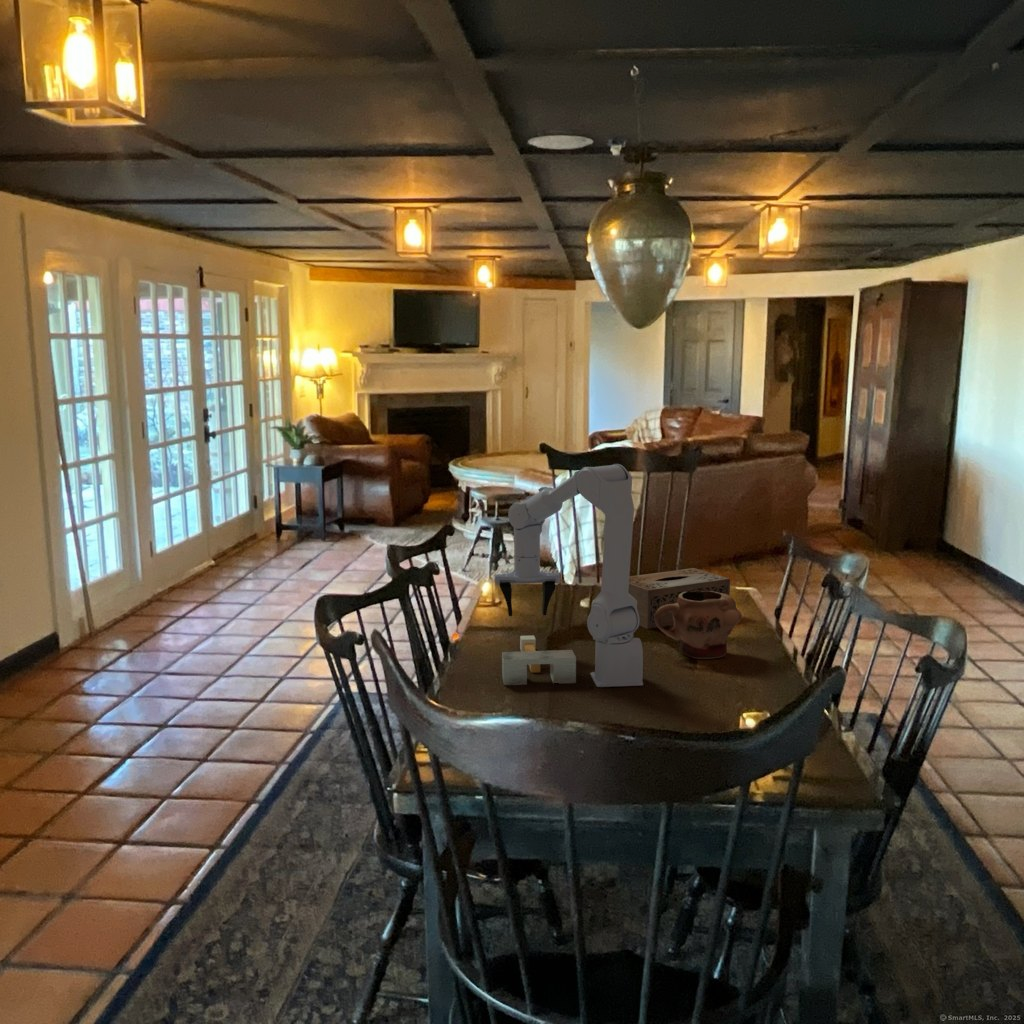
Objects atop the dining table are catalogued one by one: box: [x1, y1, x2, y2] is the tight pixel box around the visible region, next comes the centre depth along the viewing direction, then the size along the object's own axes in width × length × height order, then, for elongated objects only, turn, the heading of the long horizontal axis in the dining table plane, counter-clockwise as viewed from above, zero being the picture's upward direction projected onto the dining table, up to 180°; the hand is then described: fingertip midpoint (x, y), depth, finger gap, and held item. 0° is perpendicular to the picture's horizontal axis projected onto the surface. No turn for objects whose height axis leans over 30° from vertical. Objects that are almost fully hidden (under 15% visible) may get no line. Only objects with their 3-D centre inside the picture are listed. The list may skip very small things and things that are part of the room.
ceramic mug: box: [654, 591, 743, 660], centre depth 204 cm, size 20×12×14 cm, turn 105°
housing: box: [501, 649, 577, 686], centre depth 189 cm, size 15×5×5 cm, turn 95°
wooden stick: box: [519, 635, 542, 673], centre depth 202 cm, size 17×3×3 cm, turn 5°
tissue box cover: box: [628, 567, 731, 630], centre depth 237 cm, size 26×14×10 cm, turn 118°
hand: (527, 614), depth 207 cm, fingers open, 7 cm apart
